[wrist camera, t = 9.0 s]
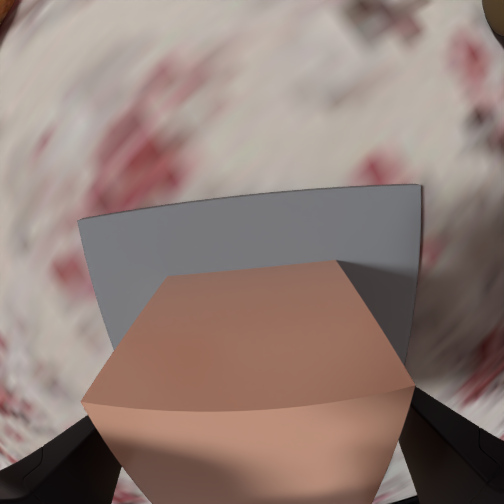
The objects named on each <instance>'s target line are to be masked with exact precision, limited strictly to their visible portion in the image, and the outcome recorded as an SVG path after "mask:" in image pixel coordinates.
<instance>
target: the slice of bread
mask: <svg viewBox="0 0 504 504" xmlns="http://www.w3.org/2000/svg"><path fill="white" fill-rule="evenodd" d="M14 1H15V0H0V25H1V23H2V21H3V20H4V18H5V16H6V15H7V13H8V12H9V10H10V9H11V7H12V5H13V3H14Z"/></svg>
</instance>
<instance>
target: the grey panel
mask: <svg viewBox="0 0 504 504" xmlns="http://www.w3.org/2000/svg"><path fill="white" fill-rule="evenodd" d="M77 222H78V227H79V231H80V236H81V241H82V245H83V249H84V254H85V258H86V262H87V266H88V269H89V273H90V277H91V281H92V284H93V288H94V291H95V295H96V298H97V301H98V305H99V308H100V311H101V314H102V317H103V320H104V323H105V326H106V329H107V332H108V335H109V338H110V340H111V343H112V346H113V349H114V350H115V349H116V347H117V346H118V344H119V343H120V341H121V340H122V339H123V337H124V336H125V334H126V333H127V331H128V330H129V329H130V327H131V326H132V324H133V323H134V321H135V320H136V319H137V317H138V316H139V314H140V313H141V312H142V310H143V309H144V307H145V306H146V305H147V303H148V302H149V300H150V299H151V298H152V296H153V295H154V294H155V292H156V291H157V289H158V288H159V287H160V285H161V284H162V283H163V281H164V280H165V279H166V277H167V276H174V275H186V274H197V273H208V272H219V271H230V270H240V269H251V268H261V267H271V266H281V265H291V264H301V263H310V262H320V261H329V260H336V261H337V263H338V264H339V265H340V267H341V268H342V270H343V271H344V273H345V274H346V276H347V277H348V279H349V280H350V282H351V283H352V285H353V286H354V288H355V289H356V291H357V292H358V294H359V295H360V297H361V298H362V300H363V301H364V303H365V304H366V306H367V307H368V309H369V310H370V312H371V313H372V315H373V317H374V318H375V320H376V321H377V323H378V324H379V326H380V328H381V329H382V331H383V332H384V334H385V336H386V337H387V339H388V340H389V342H390V344H391V345H392V347H393V349H394V350H395V352H396V353H397V355H398V357H399V358H400V360H401V362H402V363H403V365H405V360H406V355H407V349H408V344H409V338H410V332H411V326H412V319H413V312H414V305H415V296H416V287H417V277H418V266H419V251H420V230H421V185H418V184H392V185H368V186H349V187H333V188H318V189H305V190H292V191H281V192H270V193H259V194H250V195H240V196H231V197H222V198H214V199H205V200H197V201H190V202H182V203H175V204H168V205H161V206H154V207H147V208H140V209H134V210H128V211H122V212H116V213H110V214H104V215H98V216H92V217H87V218H82V219H80V220H78V221H77Z"/></svg>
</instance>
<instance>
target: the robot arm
mask: <svg viewBox="0 0 504 504" xmlns="http://www.w3.org/2000/svg"><path fill="white" fill-rule="evenodd" d="M399 444H400V447H401V449H402V452H403V455H404V458H405V460H406V463H407V466H408V469H409V472H410V475H411V478H412V480H413V483H414V486H415V489H416V492H417V495H418V497H415V498H412V499H409V500H405V501H402V502H399V503H396V504H504V441H503V440H501V439H499V438H497V437H495V436H494V435H492V434H490V433H488V432H487V431H485V430H484V429H482V428H479V426H477V425H475V424H474V423H472V422H471V421H469V420H467V419H466V418H464V417H463V416H461V415H460V414H458V413H456V412H455V411H453V410H452V409H450V408H449V407H447V406H445V405H444V404H442V403H441V402H439V401H438V400H436V399H434V398H433V397H431V396H430V395H428V394H427V393H425V392H424V391H422V390H421V389H419V388H417V387H416V386H415V389H414V392H413V396H412V399H411V403H410V406H409V409H408V413H407V416H406V419H405V422H404V425H403V428H402V431H401V434H400V437H399ZM121 467H122V466H121V464H120V463H119V461H118V460H117V459H116V457H115V456H114V454H113V453H112V451H111V450H110V449H109V447H108V446H107V444H106V443H105V441H104V440H103V438H102V437H101V435H100V433H99V432H98V430H97V429H96V427H95V425H94V424H93V422H92V421H91V419H90V417H89V416H88V415H87V416H85V417H84V418H83V419H81V420H80V421H78V422H77V423H76V424H74V425H73V426H71V427H70V428H68V429H67V430H65V431H64V432H63V433H61V434H60V435H58V436H57V437H55V438H54V439H52V440H51V441H49V442H48V443H47V444H45V445H44V446H43V447H41V448H39V449H38V450H36V451H35V452H33V453H31V454H30V455H28V456H27V457H25V458H23V459H21V460H20V461H18V462H16V463H14V464H12V465H10V466H8V467H6V468H4V469H2V470H0V504H111V503H112V499H113V496H114V492H115V488H116V485H117V481H118V478H119V474H120V471H121Z"/></svg>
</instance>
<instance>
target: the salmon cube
mask: <svg viewBox="0 0 504 504" xmlns="http://www.w3.org/2000/svg"><path fill="white" fill-rule="evenodd" d="M414 389H415V384H414V382H413V380H412V379H411V377H410V375H409V374H408V372H407V370H406V368H405V367H404V365H403V363H402V362H401V360H400V358H399V357H398V355H397V353H396V352H395V350H394V349H393V347H392V345H391V344H390V342H389V340H388V339H387V337H386V336H385V334H384V332H383V331H382V329H381V328H380V326H379V324H378V323H377V321H376V320H375V318H374V317H373V315H372V313H371V312H370V310H369V309H368V307H367V306H366V304H365V303H364V301H363V300H362V298H361V297H360V295H359V294H358V292H357V291H356V289H355V288H354V286H353V285H352V283H351V282H350V280H349V279H348V277H347V276H346V274H345V273H344V271H343V270H342V268H341V267H340V265H339V264H338V263H337V261H336V260H329V261H320V262H310V263H301V264H291V265H281V266H271V267H261V268H251V269H240V270H230V271H219V272H208V273H197V274H186V275H174V276H167V277H166V279H165V280H164V281H163V283H162V284H161V285H160V287H159V288H158V289H157V291H156V292H155V294H154V295H153V296H152V298H151V299H150V300H149V302H148V303H147V305H146V306H145V307H144V309H143V310H142V312H141V313H140V314H139V316H138V317H137V319H136V320H135V321H134V323H133V324H132V326H131V327H130V329H129V330H128V331H127V333H126V334H125V336H124V337H123V339H122V340H121V341H120V343H119V344H118V346H117V347H116V349H115V350H114V352H113V353H112V355H111V356H110V358H109V359H108V361H107V362H106V364H105V365H104V367H103V368H102V370H101V371H100V373H99V374H98V376H97V377H96V379H95V380H94V382H93V383H92V385H91V386H90V388H89V389H88V391H87V392H86V394H85V396H84V397H83V399H82V400H81V403H82V405H83V407H84V409H85V410H86V412H87V414H88V416H89V417H90V419H91V421H92V422H93V424H94V425H95V427H96V429H97V430H98V432H99V433H100V435H101V437H102V438H103V440H104V441H105V443H106V444H107V446H108V447H109V449H110V450H111V451H112V453H113V454H114V456H115V457H116V459H117V460H118V461H119V463H120V464H121V466H122V467H123V468H124V470H125V471H126V472H127V474H128V475H129V476H130V477H131V479H132V480H133V481H134V483H135V484H136V485H137V486H138V488H139V489H140V490H141V491H142V492H143V494H144V495H145V496H146V497H147V498H148V500H149V501H150V502H151V503H152V504H372V502H373V500H374V498H375V495H376V493H377V491H378V489H379V487H380V485H381V482H382V480H383V478H384V475H385V473H386V471H387V468H388V466H389V463H390V461H391V458H392V456H393V453H394V451H395V448H396V445H397V442H398V440H399V437H400V434H401V431H402V428H403V425H404V422H405V419H406V416H407V413H408V409H409V406H410V403H411V399H412V396H413V392H414Z"/></svg>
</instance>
